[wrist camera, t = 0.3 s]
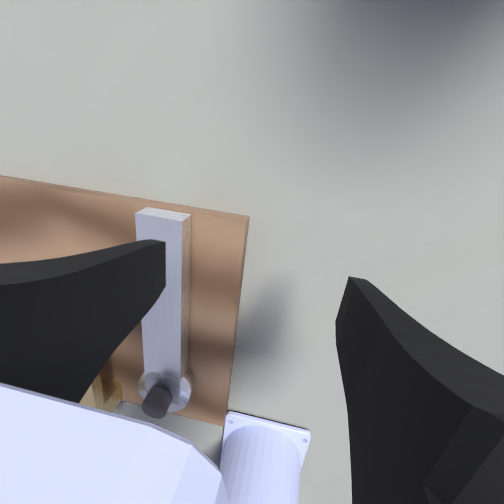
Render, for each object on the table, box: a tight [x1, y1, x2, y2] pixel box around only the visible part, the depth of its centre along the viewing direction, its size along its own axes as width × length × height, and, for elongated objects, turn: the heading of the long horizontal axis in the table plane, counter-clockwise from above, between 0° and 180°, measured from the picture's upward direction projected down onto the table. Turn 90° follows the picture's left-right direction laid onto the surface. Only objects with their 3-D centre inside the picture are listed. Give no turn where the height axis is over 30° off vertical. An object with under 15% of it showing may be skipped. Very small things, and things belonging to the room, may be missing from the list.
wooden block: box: [79, 372, 123, 413], centre depth 24 cm, size 7×4×3 cm, turn 173°
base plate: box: [0, 175, 249, 426], centre depth 22 cm, size 20×20×4 cm
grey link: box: [135, 207, 195, 412], centre depth 21 cm, size 17×4×2 cm, turn 173°
